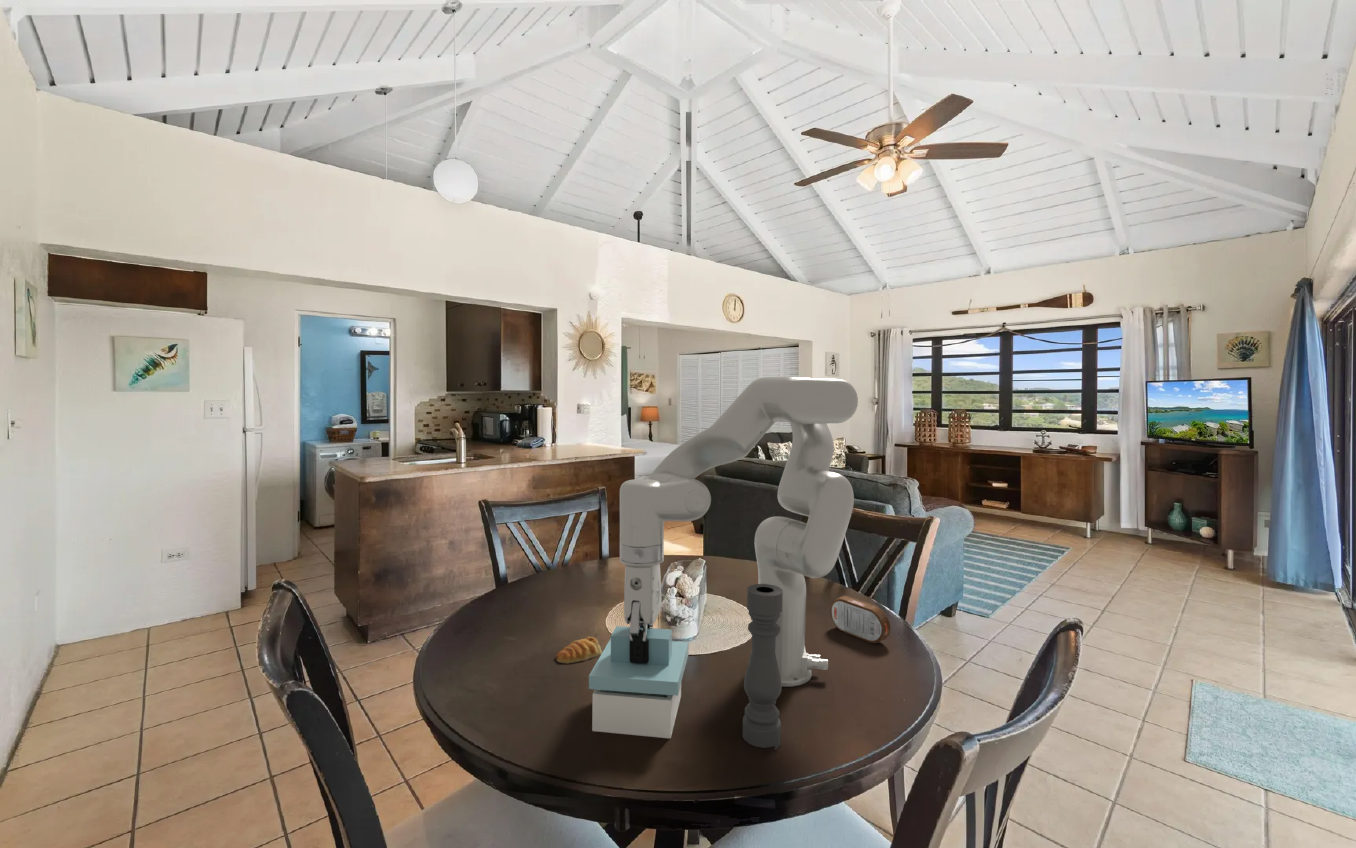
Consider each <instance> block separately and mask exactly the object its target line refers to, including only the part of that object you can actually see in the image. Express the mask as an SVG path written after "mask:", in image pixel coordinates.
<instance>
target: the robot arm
mask: <svg viewBox="0 0 1356 848" xmlns="http://www.w3.org/2000/svg"><path fill="white" fill-rule="evenodd" d="M858 405H859V398H858V393H857V391H856V389H855V387H854V386H853V385H852V384H851V383H850V382H849V381H847V380H844V379H839V378H817V377H816V378H813V377H812V378H811V377H802V376H801V377H800V376H767V377H765V376H764V377H760V378H757V379H755V380H753V381H752V382H750V384H748V386H747V387H746V388H744V389H743V391H742V392H741V393H740V394H739V395H738V396H737V397H736V399H734V400H733V402H732V403H731V404H730V405H729V406H728V407H727V408H726V410H724V412H723V413H722V414H721V415H720V416H719V417H718V419H716V420H715V422H713V424H712V425H710V426H709V427H708V428H706V429H704V430H702V431H700V432H699V433H697V434H696V435H694V436H693V437H691V438H689V439H688V440H686V441H685V442H683V443H682V444H680V445H678V446H677V447H676V448H675V449H673V450H672V451H671V452H670V453H669V454H668V455H667V456H665V457H664V459H663V460H662V461H661V462H660V463H659V464H658V465H657V467H655V468H654V470H653V471H652V472H651V474H650V475H649V477H648V478H635V479H629V480H626V481H624V482H623V483H621V485H620V488H619V562H620V564H622V565H624V566H625V568H624V587H623V588H624V592H623V594H624V595H623V596H624V597H623V603H624V604H623V608H624V609H623V613H624V615H623V616H624V622H625V623H626V624H627V625H629V627H630V662H631V663H640V664H647V663H648V661H649V640H647V628H654V623H656V621H657V618H658V615H659V613H660V611H661V610H662V603H663V601H662V583H661V582H662V579H661V578H662V577H661V575H662V574H661V564H662V563H664V559H665V557H664V554H665V552H664V551H665V549H664V547H665V545H664V544H665V540H664V536H665V534H664V532H665V527H664V526H665V522H693V521H696V520H699V519H701V518H702V517H703V516H704V515H705V514H706V513H707V512H708V510H709V509H710V506H711V503H712V496H711V493H710V491H709V489H708V487H707V485H705V484H704V483H703V482H701V481H700V480H698V479H696V478H697V477H698V476H700V475H702V473H704V472H706V471H708V470H711V469H713V468H716V467H719V466H722V465H728V464H730V463H734V462H736V461H738V460H742V459H743V458H744V457H745V458H746V457H747V456H748V455H749V453H750V452H751V451H752V450H753V448H755V446H756V445H757V444H758V443H759V441H761V439H762V438H763V437H764V436H765V434H766V433H767V432H768V431H769V430H770V429H771V428H772V427H773V425H774V424H775V423H789V424H790V428H791V433H792V443H791V447H790V450H789V451H790V452H789V454H788V458H787V460H786V463H785V466H784V470H783V472H782V474H781V475H782V476H781V478H780V481H779V484H778V489H777V500H778V503H779V505H780V506H781V507H782V508H784V510H787V511H789V512H791V513H794V514H797V515H801V516H806V517H808V519H807V522H804V521H801V520H797V519H793V518H790V517H785V516H780V515H779V516H770V517H768V518H766V519H764V520H762V521H761V522H760V523H759V525H758V526H757V528H756V531H755V534H754V542H753V543H754V550H755V551H754V552H755V558H756V564H757V573H758V574H757V575H758V583H757V584H769V585H774V586H777V587H780V588H781V589H782V590H783V600H782V612H781V613H780V617H779V618H778V621H777V622H776V623H777V624H778V625H779V626H780V633H779V634H778V635H777V636H776V648H775V654H776V659H777V663H778V668H779V673H780V678H781V683H782V687H785V688H786V687H787V688H788V687H796V686H797V687H798V686H801V685H804V684H806V683H807V682H808V681H810V680H811V678H812V672H813V671H812V670H813V669H818V670H824V671H825V670H826V671H827V670H829V660H828V659H827V658H826V659H825V658H821V654H815V653H814V654H809V652H807V651H806V646H805V643H806V642H805V641H806V640H805V639H806V637H805V636H806V608H807V607H806V603H807V585H806V580H805V577H808V578H811V579H812V578H813V579H818V578H823V577H825V576H827V575H828V574H829V573H831V571H832V570H833V568H834V567H835V565H836V562H837V561H838V558H839V555H840V553H841V549H842V546H843V542H844V540H845V536H846V532H847V530H848V528H849V527H848V526H849V523H850V521H851V518H852V513H853V509H854V504H855V495H854V490H853V486H852V484H851V483H850V481H849V480H848V479H847V477H846V476H844V475H842V474H840V473H837V472H834V471H830V466H831V463H832V460H833V456H834V451H835V450H834V449H835V446H834V445H835V443H834V438H833V435H832V432H831V430H830V427H829V426H828V424H842V423H846V422H847V421H849V420H850V419H851V418H852V417H853V415H854V414H855V413H856V411H857V408H858ZM640 628H643V631H642V629H640Z"/></svg>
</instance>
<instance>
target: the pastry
mask: <svg viewBox="0 0 1356 848" xmlns="http://www.w3.org/2000/svg"><path fill="white" fill-rule="evenodd" d="M602 652H603V650H602V648H601V645H600V644H599V641H598V639H597V638H596V637H594V636H586V638H581V639H577V640H574V641H571V643H569V644H568V645H567V646H564V647H563V648H562V649H561V650H559V651H558V652H557V653H556V662H558V663H561V664H565V665H566V664H567V665H568V664H572V663H579V662H583V661H587V660H589V659H592V658H596V657H600V656H601V654H602Z"/></svg>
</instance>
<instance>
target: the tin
mask: <svg viewBox="0 0 1356 848" xmlns="http://www.w3.org/2000/svg"><path fill="white" fill-rule="evenodd" d="M829 614H830V619H831V621H832V623H833V625H834V626H835V627H836V628H837V629H838V630H839V631H841V632H842V631H843V633H846V634H848V635H849V636H853V637H855V638H857V639H860V640H862V641H865V642H867V643H870V644H877V643H881V642H882V641H885V640H886V639H887V638H888V637H889V636H890V634H891V622H890V619H889V617H888V616H887V614H886V612H885V611H884V610H883V609H882V608H880V607H879V606H877V605H875V604H872V603H869V602H867V601H863V600H860V599H858V598H854V597H852V596H850V595H841V596H839V597H838V598H836V599H834V600H833V601H832V602H831V603H830V608H829Z"/></svg>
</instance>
